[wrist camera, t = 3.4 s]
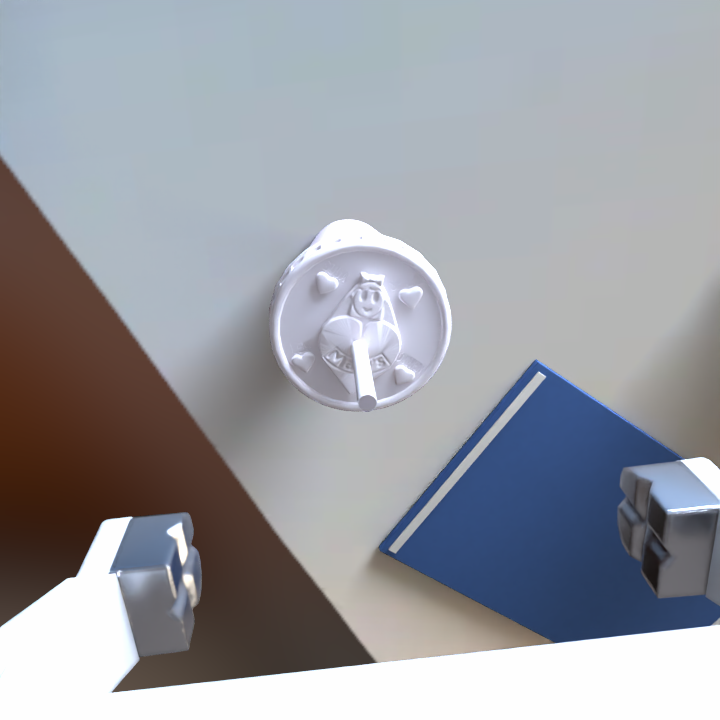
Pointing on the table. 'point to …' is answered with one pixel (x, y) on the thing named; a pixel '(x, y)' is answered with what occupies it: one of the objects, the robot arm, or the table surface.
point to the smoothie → (359, 319)
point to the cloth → (544, 519)
